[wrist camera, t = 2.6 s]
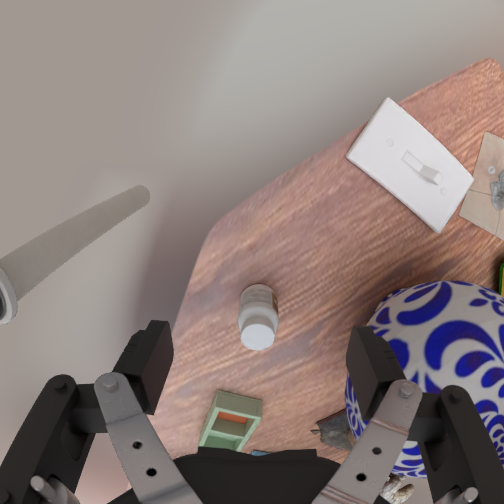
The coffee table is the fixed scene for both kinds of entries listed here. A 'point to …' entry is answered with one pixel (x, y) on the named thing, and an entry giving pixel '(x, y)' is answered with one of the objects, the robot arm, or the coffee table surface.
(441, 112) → the coffee table surface
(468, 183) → the light switch
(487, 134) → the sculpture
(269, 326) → the pill bottle
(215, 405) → the tray
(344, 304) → the coffee table surface
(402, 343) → the vase
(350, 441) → the cherub figurine
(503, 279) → the dish sponge
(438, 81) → the coffee table surface
